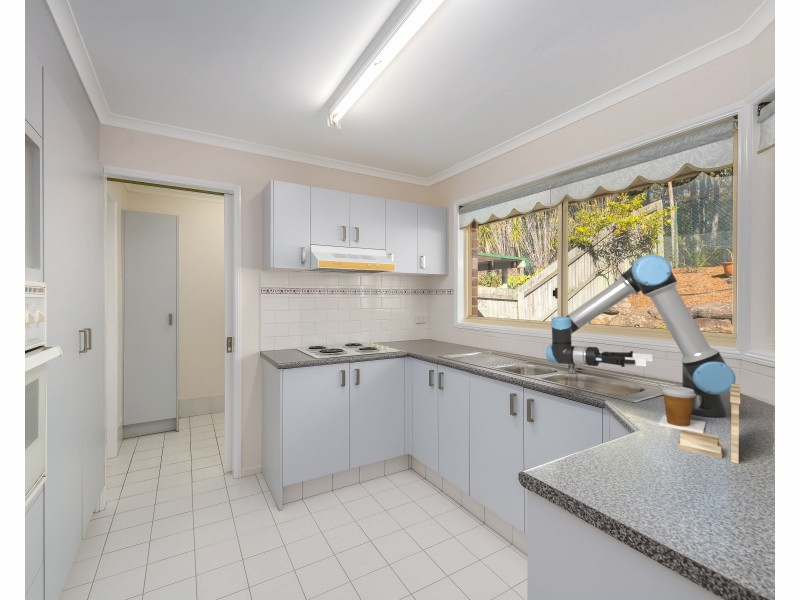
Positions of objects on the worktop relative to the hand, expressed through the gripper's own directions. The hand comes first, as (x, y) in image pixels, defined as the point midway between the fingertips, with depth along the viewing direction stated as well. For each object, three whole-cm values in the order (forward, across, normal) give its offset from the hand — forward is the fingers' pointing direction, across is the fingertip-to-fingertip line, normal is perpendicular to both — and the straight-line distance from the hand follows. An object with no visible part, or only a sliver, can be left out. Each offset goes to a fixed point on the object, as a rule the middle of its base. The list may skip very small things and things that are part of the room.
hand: (649, 360), depth 140 cm
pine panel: (+23, +17, -22) cm, 36 cm away
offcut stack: (+15, +24, -22) cm, 36 cm away
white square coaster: (+9, 0, -22) cm, 24 cm away
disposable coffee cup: (+8, +3, -21) cm, 23 cm away
